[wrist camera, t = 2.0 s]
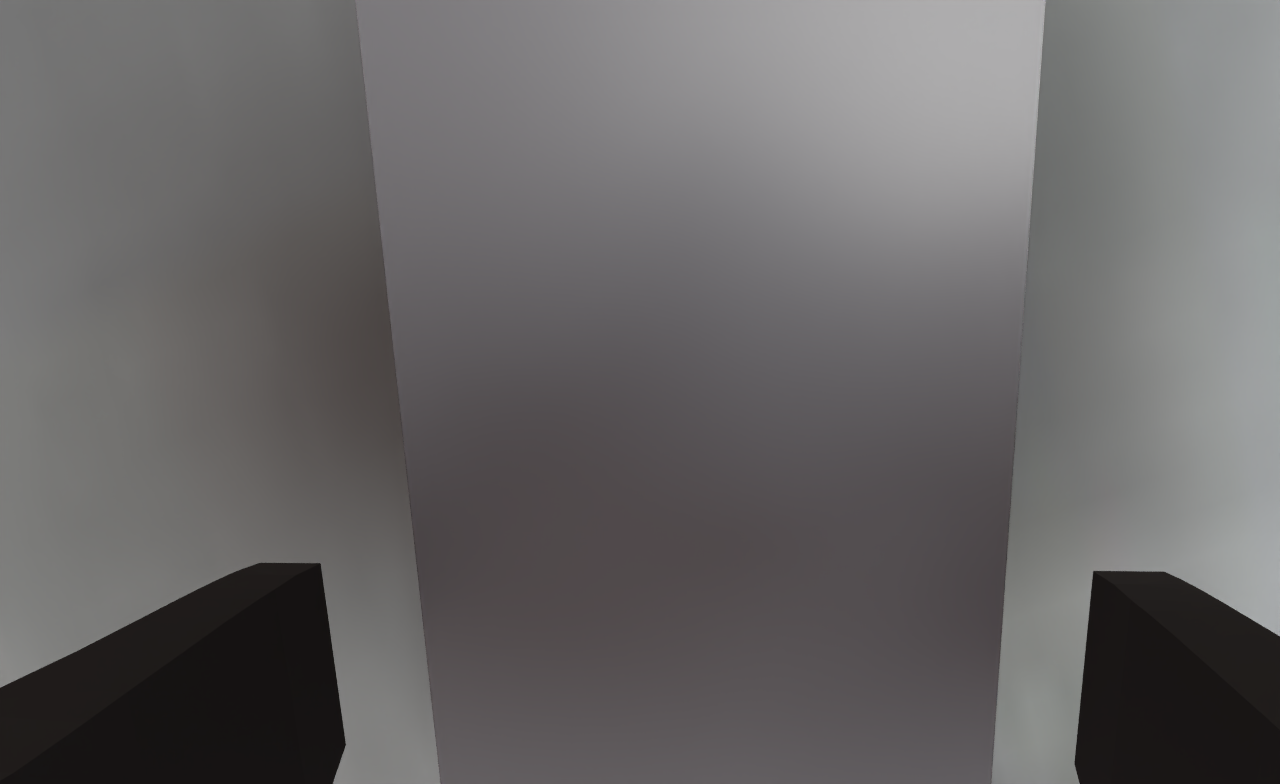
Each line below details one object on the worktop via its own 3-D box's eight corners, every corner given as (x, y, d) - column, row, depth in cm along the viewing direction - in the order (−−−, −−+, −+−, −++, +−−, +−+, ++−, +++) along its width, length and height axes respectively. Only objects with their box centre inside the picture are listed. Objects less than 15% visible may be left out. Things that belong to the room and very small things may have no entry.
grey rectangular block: (938, -33, 16) (1048, -49, 10) (906, 747, 20) (969, 1078, 14) (502, -15, 16) (353, -20, 10) (555, 739, 20) (469, 1051, 14)
